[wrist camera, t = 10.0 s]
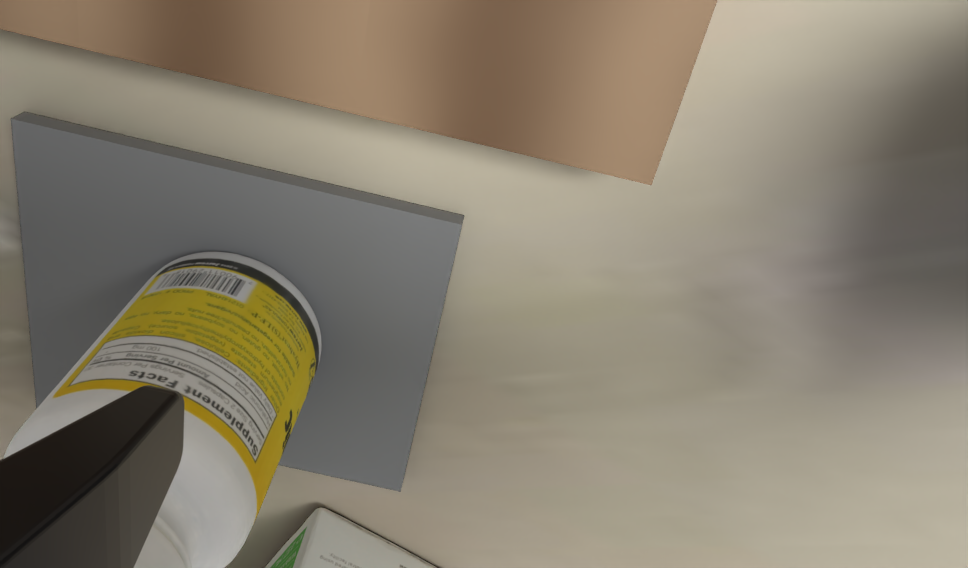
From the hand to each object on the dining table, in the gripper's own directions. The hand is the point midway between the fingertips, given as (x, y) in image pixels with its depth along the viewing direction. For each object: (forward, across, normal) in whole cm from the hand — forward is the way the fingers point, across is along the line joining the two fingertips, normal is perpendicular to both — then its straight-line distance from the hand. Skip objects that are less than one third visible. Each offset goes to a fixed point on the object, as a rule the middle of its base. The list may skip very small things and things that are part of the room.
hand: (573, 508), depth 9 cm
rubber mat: (+13, +8, +8) cm, 17 cm away
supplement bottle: (+12, +8, +8) cm, 17 cm away
